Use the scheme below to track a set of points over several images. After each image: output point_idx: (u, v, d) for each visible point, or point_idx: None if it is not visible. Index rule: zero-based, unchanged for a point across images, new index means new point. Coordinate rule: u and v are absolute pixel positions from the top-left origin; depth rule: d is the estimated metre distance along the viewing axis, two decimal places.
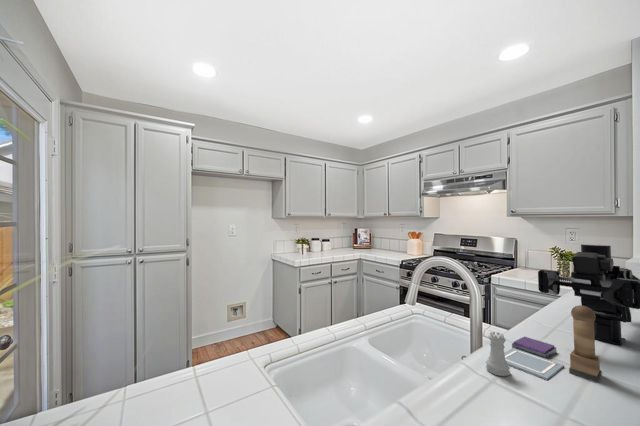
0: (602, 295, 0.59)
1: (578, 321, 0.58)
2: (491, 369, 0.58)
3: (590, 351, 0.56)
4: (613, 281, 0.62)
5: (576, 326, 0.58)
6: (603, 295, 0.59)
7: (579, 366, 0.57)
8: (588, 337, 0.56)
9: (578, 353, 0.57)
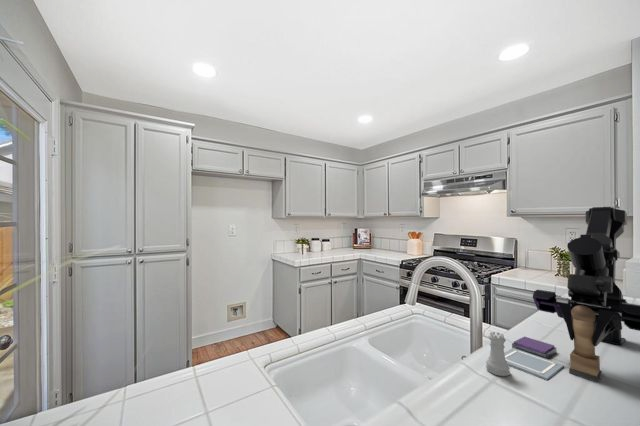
0: (594, 343, 0.56)
1: (578, 321, 0.58)
2: (491, 369, 0.58)
3: (590, 351, 0.56)
4: (600, 312, 0.57)
5: (576, 326, 0.58)
6: (596, 344, 0.56)
7: (579, 366, 0.57)
8: (588, 337, 0.56)
9: (578, 353, 0.57)
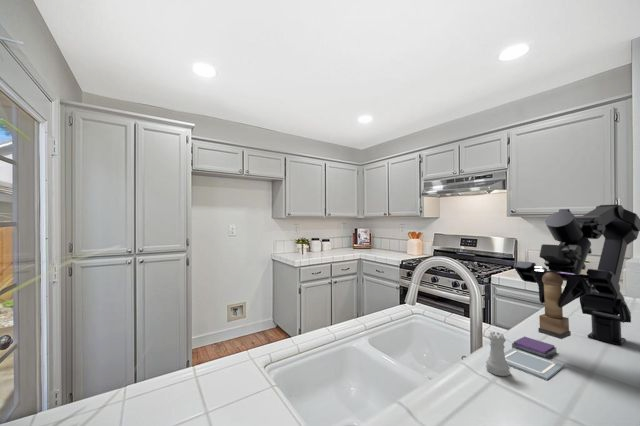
0: (559, 305, 0.62)
1: (546, 285, 0.64)
2: (491, 369, 0.58)
3: (556, 312, 0.62)
4: (567, 278, 0.62)
5: (545, 290, 0.64)
6: (560, 305, 0.61)
7: (546, 325, 0.63)
8: (554, 299, 0.62)
9: (546, 314, 0.64)
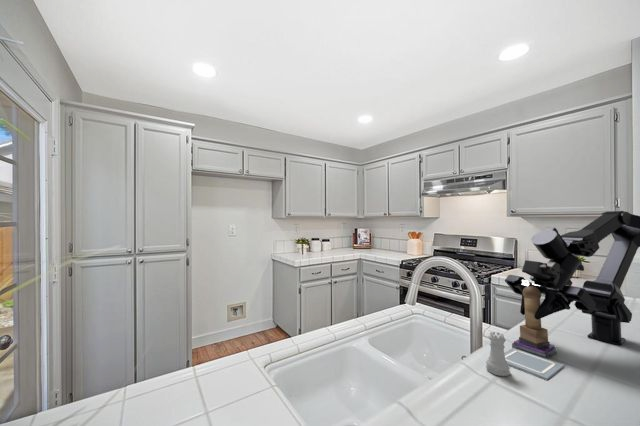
0: (536, 317, 0.67)
1: (525, 298, 0.69)
2: (491, 369, 0.58)
3: (534, 323, 0.67)
4: (546, 293, 0.67)
5: (524, 302, 0.70)
6: (537, 318, 0.67)
7: (525, 335, 0.69)
8: (532, 311, 0.68)
9: (526, 325, 0.69)
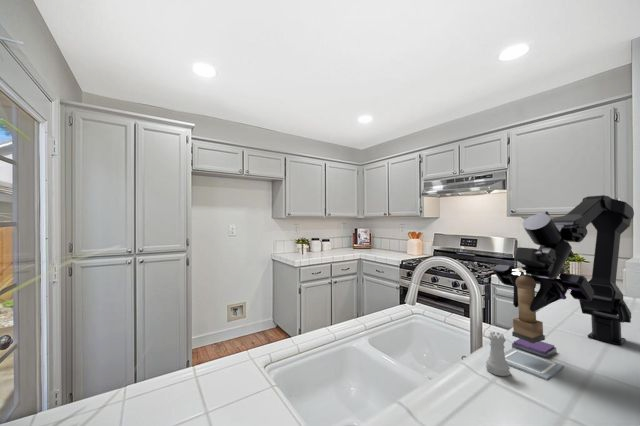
0: (531, 309, 0.61)
1: (519, 289, 0.63)
2: (491, 369, 0.58)
3: (529, 316, 0.61)
4: (541, 282, 0.61)
5: (518, 293, 0.63)
6: (532, 310, 0.60)
7: (519, 329, 0.62)
8: (527, 303, 0.61)
9: (520, 318, 0.63)
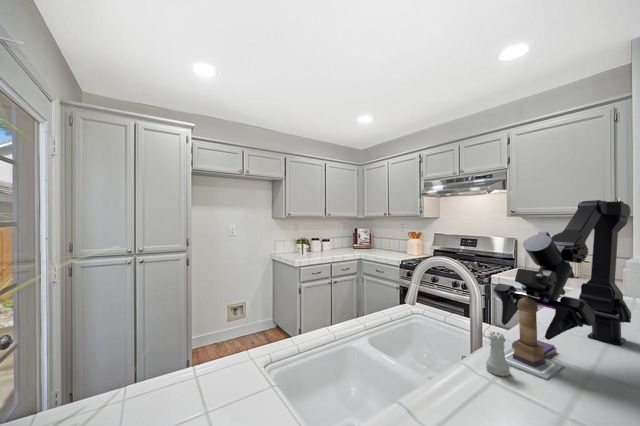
0: (546, 337, 0.58)
1: (520, 311, 0.63)
2: (491, 369, 0.58)
3: (530, 339, 0.61)
4: (556, 308, 0.58)
5: (519, 316, 0.63)
6: (547, 338, 0.57)
7: (520, 352, 0.62)
8: (528, 326, 0.61)
9: (521, 341, 0.63)
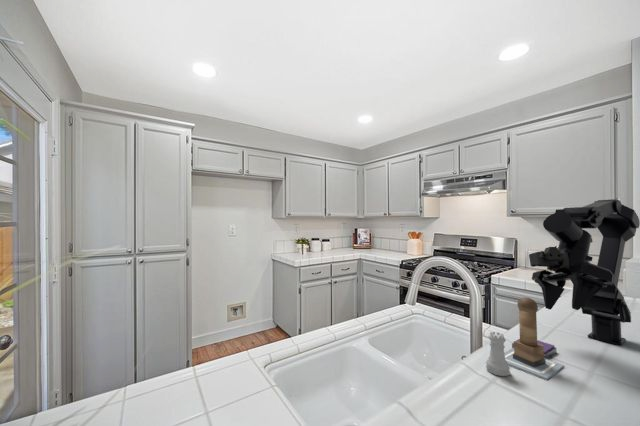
0: (574, 308, 0.61)
1: (520, 311, 0.63)
2: (491, 369, 0.58)
3: (530, 339, 0.61)
4: (570, 278, 0.62)
5: (519, 316, 0.63)
6: (575, 308, 0.61)
7: (520, 352, 0.62)
8: (528, 326, 0.61)
9: (521, 341, 0.63)
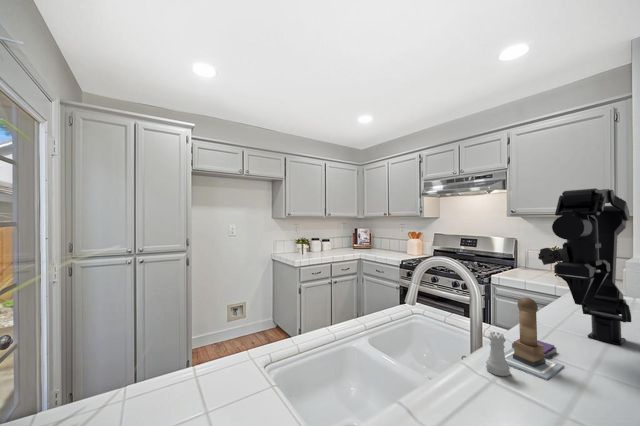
0: (578, 303, 0.64)
1: (520, 311, 0.63)
2: (491, 369, 0.58)
3: (530, 339, 0.61)
4: None
5: (519, 316, 0.63)
6: (578, 304, 0.64)
7: (520, 352, 0.62)
8: (528, 326, 0.61)
9: (521, 341, 0.63)
